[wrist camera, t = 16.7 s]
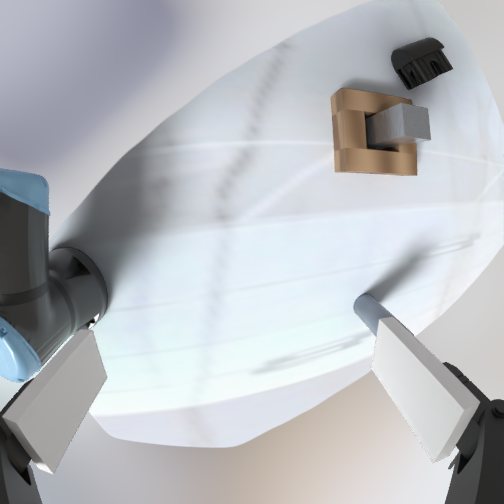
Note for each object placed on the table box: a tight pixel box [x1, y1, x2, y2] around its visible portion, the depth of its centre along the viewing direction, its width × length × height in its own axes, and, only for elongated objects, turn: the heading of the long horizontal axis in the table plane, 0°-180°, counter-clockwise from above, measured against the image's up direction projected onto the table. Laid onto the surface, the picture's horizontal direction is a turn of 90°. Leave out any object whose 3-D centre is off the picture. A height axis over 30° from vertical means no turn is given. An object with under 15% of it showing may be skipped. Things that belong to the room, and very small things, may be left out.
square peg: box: [365, 103, 431, 150], centre depth 33 cm, size 4×4×14 cm
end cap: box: [391, 38, 453, 90], centre depth 34 cm, size 10×7×7 cm
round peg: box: [354, 294, 414, 336], centre depth 40 cm, size 4×4×14 cm
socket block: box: [331, 88, 417, 176], centre depth 38 cm, size 12×12×5 cm
